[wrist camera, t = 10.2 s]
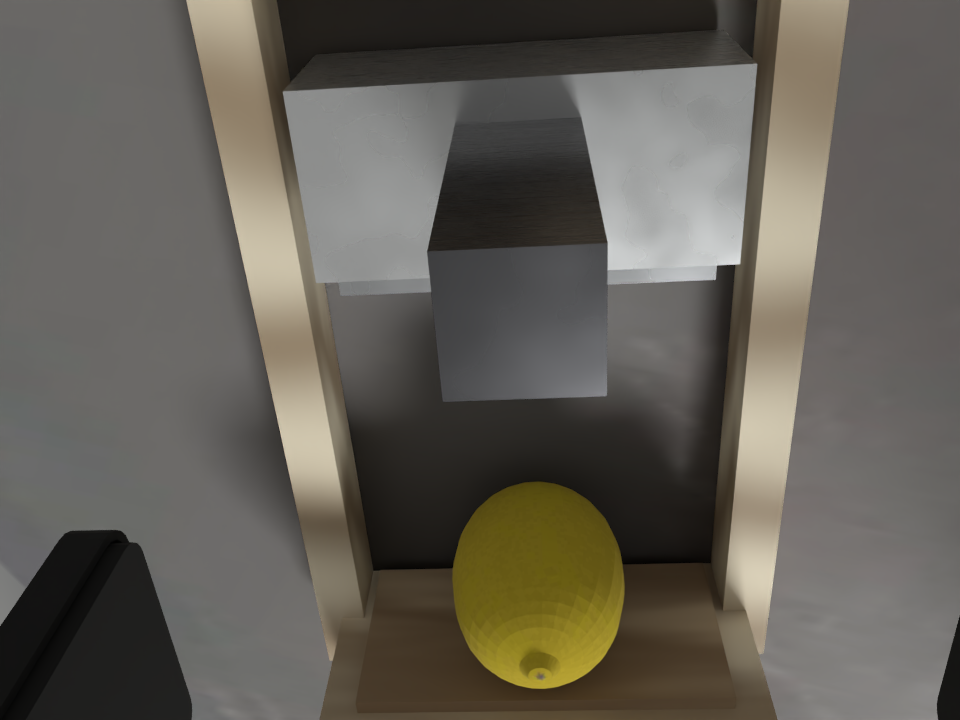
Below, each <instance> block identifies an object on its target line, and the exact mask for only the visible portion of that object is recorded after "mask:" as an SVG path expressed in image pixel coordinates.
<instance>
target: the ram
mask: <svg viewBox="0 0 960 720" xmlns="http://www.w3.org/2000/svg"><path fill="white" fill-rule="evenodd" d="M756 74H757V63H756V62H755V61H754V60H753V59H752V58H751V57H750V56H749V55H748V54H747V53H746V52H745V51H744V50H743V49H742V48H741V47H740V46H739V45H738V44H737V43H736V42H735V41H734V40H733V39H732V38H731V37H730V36H729V35H728V34H727V33H726V32H725V31H724V30H709V31H693V32H676V33H660V34H644V35H628V36H611V37H595V38H579V39H562V40H546V41H530V42H514V43H497V44H481V45H465V46H449V47H432V48H416V49H400V50H383V51H367V52H351V53H335V54H318V55H315V56H314V57H313V58H312V59H311V60H310V62H309V63H308V64H307V65H306V66H305V67H304V68H303V69H302V70H301V72H300V73H299V74H298V75H297V76H296V77H295V78H294V79H293V81H292V82H291V83H290V84H289V85H288V86H287V87H286V88H285V89H284V91H283V96H284V102H285V108H286V114H287V119H288V125H289V131H290V137H291V142H292V148H293V154H294V159H295V165H296V171H297V177H298V182H299V188H300V194H301V199H302V205H303V211H304V217H305V222H306V228H307V234H308V239H309V245H310V251H311V257H312V262H313V268H314V274H315V279H316V283H331V282H339V288H340V295H341V296H351V295H375V294H398V293H421V292H431V295H432V304H433V314H434V323H435V333H436V343H437V352H438V362H439V371H440V381H441V390H442V400H443V402H454V401H483V400H511V399H540V398H568V397H597V396H607V290H608V284H629V283H652V282H675V281H698V280H716V270H717V265H737V264H740V260H741V248H742V237H743V225H744V213H745V202H746V190H747V178H748V167H749V155H750V143H751V132H752V120H753V109H754V97H755V85H756Z"/></svg>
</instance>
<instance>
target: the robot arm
mask: <svg viewBox="0 0 960 720" xmlns="http://www.w3.org/2000/svg"><path fill="white" fill-rule="evenodd" d="M937 714H938V720H960V617H959V621H958V624H957V628H956V632H955V636H954V639H953V643H952V647H951V651H950V654H949V658H948V662H947V666H946V669H945V673H944V677H943V681H942V684H941V688H940V692H939V695H938V701H937ZM191 719H192V703H191V698H190V695H189V692H188V689H187V686H186V683H185V679H184V676H183V673H182V670H181V667H180V664H179V661H178V658H177V655H176V652H175V649H174V646H173V643H172V640H171V636H170V633H169V630H168V627H167V624H166V621H165V618H164V615H163V612H162V609H161V606H160V603H159V600H158V597H157V594H156V590H155V587H154V584H153V581H152V578H151V575H150V572H149V569H148V566H147V563H146V560H145V557H144V554H143V551H142V549H141V547H140V546H139V545H138V544H137V543H129V541H128V539H127V537H126V535H125V534H124V533H123V532H122V531H118V530H92V531H70V532H68V533H65V534H64V536H63V537H62V538H61V539H60V540H59V541H58V543H57V544H56V546H55V547H54V549H53V550H52V551H51V553H50V554H49V556H48V557H47V559H46V560H45V562H44V563H43V565H42V566H41V568H40V569H39V570H38V572H37V573H36V575H35V576H34V578H33V579H32V581H31V582H30V584H29V585H28V587H27V588H26V589H25V591H24V592H23V594H22V595H21V597H20V598H19V600H18V601H17V603H16V604H15V606H14V607H13V608H12V610H11V611H10V613H9V614H8V616H7V617H6V619H5V620H4V622H3V623H2V624H1V626H0V720H191Z"/></svg>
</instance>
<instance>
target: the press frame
mask: <svg viewBox="0 0 960 720" xmlns="http://www.w3.org/2000/svg"><path fill="white" fill-rule="evenodd" d="M186 1H187V5H188V10H189V15H190V19H191V24H192V28H193V33H194V38H195V42H196V47H197V51H198V56H199V61H200V65H201V70H202V74H203V79H204V84H205V88H206V93H207V97H208V102H209V107H210V111H211V116H212V121H213V125H214V130H215V134H216V139H217V144H218V148H219V153H220V157H221V162H222V167H223V171H224V176H225V180H226V185H227V190H228V194H229V199H230V203H231V208H232V213H233V217H234V222H235V226H236V231H237V236H238V240H239V245H240V249H241V254H242V259H243V263H244V268H245V273H246V277H247V282H248V286H249V291H250V296H251V300H252V305H253V309H254V314H255V319H256V323H257V328H258V332H259V337H260V342H261V346H262V351H263V355H264V360H265V365H266V369H267V374H268V378H269V383H270V388H271V392H272V397H273V401H274V406H275V411H276V415H277V420H278V425H279V429H280V434H281V438H282V443H283V448H284V452H285V457H286V461H287V466H288V471H289V475H290V480H291V484H292V489H293V494H294V498H295V503H296V507H297V512H298V517H299V521H300V526H301V530H302V535H303V540H304V544H305V549H306V554H307V558H308V563H309V567H310V572H311V577H312V581H313V586H314V590H315V595H316V600H317V604H318V609H319V613H320V618H321V623H322V627H323V632H324V636H325V641H326V646H327V650H328V655H329V659H330V661H333V662H332V667H331V671H330V676H329V680H328V684H327V689H326V693H325V698H324V702H323V707H322V711H321V716H320V720H777V716H776V713H775V709H774V706H773V702H772V699H771V695H770V692H769V689H768V685H767V682H766V678H765V675H764V671H763V668H762V664H761V661H760V657H759V654H763V653H764V646H765V638H766V630H767V623H768V615H769V607H770V600H771V592H772V585H773V577H774V569H775V562H776V554H777V547H778V539H779V531H780V524H781V516H782V509H783V501H784V493H785V486H786V478H787V470H788V463H789V455H790V448H791V440H792V432H793V425H794V417H795V410H796V402H797V394H798V387H799V379H800V372H801V364H802V356H803V349H804V341H805V334H806V326H807V318H808V311H809V303H810V295H811V288H812V280H813V273H814V265H815V257H816V250H817V242H818V235H819V227H820V219H821V212H822V204H823V197H824V189H825V181H826V174H827V166H828V159H829V151H830V143H831V136H832V128H833V120H834V113H835V105H836V98H837V90H838V82H839V75H840V67H841V60H842V52H843V44H844V37H845V29H846V22H847V14H848V6H849V0H757V11H756V23H755V35H754V48H753V60H754V61H755V62H756V63H757V74H756V85H755V97H754V109H753V120H752V132H751V143H750V155H749V167H748V178H747V190H746V202H745V213H744V225H743V237H742V248H741V260H740V264H737V265H735V276H734V288H733V300H732V312H731V324H730V336H729V348H728V360H727V372H726V384H725V396H724V408H723V420H722V432H721V445H720V457H719V469H718V481H717V493H716V505H715V517H714V529H713V541H712V553H711V563H672V564H628V565H623V573H624V583H625V591H624V602H623V607H622V612H621V617H620V622H619V627H618V630H617V634H616V636H615V638H614V641H613V643H612V644H611V646H610V648H609V650H608V651H607V653H606V655H605V656H604V657H603V659H602V660H601V661H600V662H599V663H598V664H597V665H596V666H595V667H594V668H593V669H592V670H591V671H589V672H588V673H587V674H585V675H584V676H582V677H580V678H579V679H577V680H575V681H573V682H571V683H568V684H565V685H562V686H559V687H554V688H546V689H536V688H527V687H522V686H518V685H515V684H513V683H510V682H508V681H506V680H503V679H501V678H500V677H498V676H497V675H495V674H494V673H492V672H491V671H490V670H488V669H487V668H486V667H484V665H483V664H482V663H481V662H480V661H479V660H478V659H477V657H476V656H475V655H474V654H473V653H472V651H471V650H470V648H469V646H468V644H467V642H466V640H465V637H464V635H463V633H462V631H461V628H460V625H459V622H458V619H457V615H456V610H455V603H454V593H453V581H452V576H453V568H452V569H408V570H380V571H373V565H372V559H371V554H370V548H369V542H368V536H367V530H366V524H365V518H364V512H363V506H362V501H361V495H360V489H359V483H358V477H357V471H356V465H355V459H354V453H353V447H352V442H351V436H350V430H349V424H348V418H347V412H346V406H345V400H344V394H343V389H342V383H341V377H340V371H339V365H338V359H337V353H336V347H335V341H334V335H333V330H332V324H331V318H330V312H329V306H328V300H327V294H326V288H325V283H316V279H315V274H314V268H313V262H312V257H311V251H310V245H309V239H308V234H307V228H306V222H305V217H304V211H303V205H302V199H301V194H300V188H299V182H298V177H297V171H296V165H295V159H294V154H293V148H292V142H291V137H290V131H289V125H288V119H287V114H286V108H285V102H284V96H283V91H284V89H285V88H286V87H287V86H288V85H289V84H290V83H291V82H290V76H289V70H288V64H287V58H286V53H285V47H284V41H283V35H282V29H281V23H280V17H279V11H278V5H277V0H186Z"/></svg>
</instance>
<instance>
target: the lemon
mask: <svg viewBox="0 0 960 720" xmlns="http://www.w3.org/2000/svg"><path fill="white" fill-rule="evenodd" d="M452 581H453V593H454V603H455V610H456V615H457V619H458V622H459V625H460V628H461V631H462V633H463V635H464V637H465V640H466V642H467V644H468V646H469V648H470V650H471V651H472V653H473V654H474V655H475V656H476V657H477V659H478V660H479V661H480V662H481V663H482V664H483V665H484V667H486V668H487V669H488V670H490V671H491V672H492V673H494V674H495V675H497V676H498V677H500V678H501V679H503V680H506V681H508V682H510V683H513V684H515V685H518V686H522V687H527V688H536V689H546V688H554V687H559V686H562V685H565V684H568V683H571V682H573V681H575V680H577V679H579V678H580V677H582V676H584V675H585V674H587V673H588V672H589V671H591V670H592V669H593V668H594V667H595V666H596V665H597V664H598V663H599V662H600V661H601V660H602V659H603V657H604V656H605V655H606V653H607V651H608V650H609V648H610V646H611V644H612V643H613V641H614V638H615V636H616V634H617V630H618V627H619V622H620V617H621V612H622V607H623V602H624V591H625V583H624V573H623V565H622V559H621V553H620V550H619V546H618V544H617V541H616V539H615V537H614V535H613V533H612V531H611V529H610V527H609V525H608V523H607V521H606V519H605V518H604V516H603V515H602V514H601V513H600V512H599V511H598V510H597V509H596V508H595V507H594V505H593V504H592V503H591V502H590V501H589V500H587V499H586V498H584V497H583V496H581V495H580V494H578V493H577V492H575V491H573V490H572V489H569V488H566V487H563V486H560V485H558V484H555V483H547V482H540V481H539V482H524V483H520V484H517V485H513V486H510V487H507V488H505V489H503V490H501V491H499V492H497V493H496V494H494V495H492V496H491V497H490V498H489V499H487V500H486V501H485V502H484V503H483V504H482V505H481V506H480V507H479V508H477V510H476V511H475V512H474V514H473V515H472V517H471V518H470V520H469V521H468V523H467V525H466V526H465V528H464V530H463V532H462V534H461V537H460V540H459V543H458V547H457V551H456V555H455V560H454V564H453V576H452Z"/></svg>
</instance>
